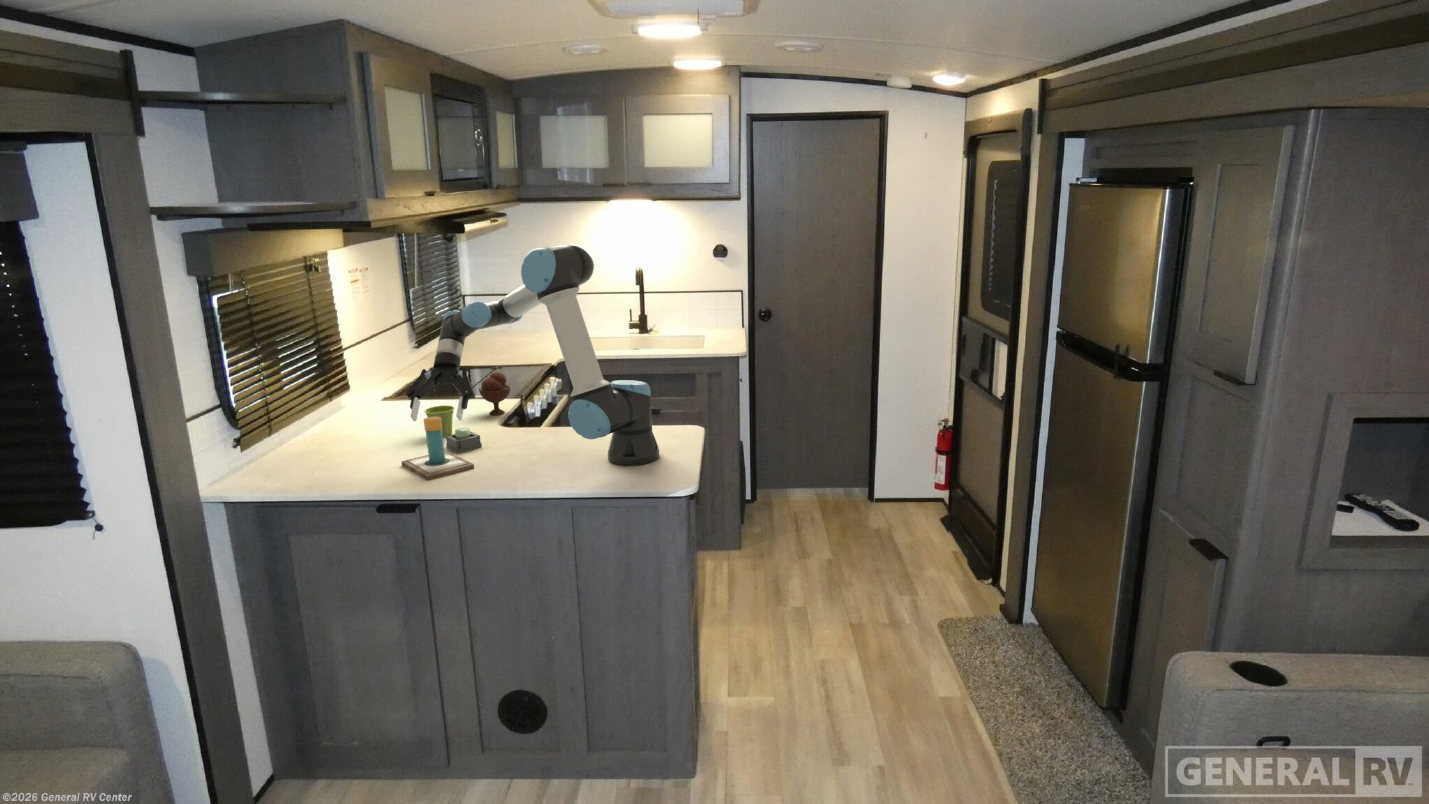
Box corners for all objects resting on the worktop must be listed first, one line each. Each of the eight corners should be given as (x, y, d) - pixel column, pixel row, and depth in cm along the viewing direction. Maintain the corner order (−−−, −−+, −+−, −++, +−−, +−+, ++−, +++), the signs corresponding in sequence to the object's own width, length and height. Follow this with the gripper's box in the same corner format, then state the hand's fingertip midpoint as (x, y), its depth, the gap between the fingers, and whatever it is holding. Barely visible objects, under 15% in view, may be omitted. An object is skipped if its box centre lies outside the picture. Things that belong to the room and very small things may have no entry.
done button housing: (481, 446, 265) (480, 435, 264) (457, 452, 260) (456, 441, 259) (470, 441, 271) (469, 430, 270) (446, 447, 266) (445, 436, 265)
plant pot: (426, 440, 274) (423, 414, 272) (428, 432, 283) (425, 406, 280) (456, 437, 276) (454, 411, 274) (457, 429, 285) (454, 404, 283)
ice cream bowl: (496, 408, 310) (492, 367, 306) (519, 411, 304) (515, 370, 300) (474, 415, 301) (470, 374, 297) (497, 419, 295) (493, 377, 292)
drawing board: (474, 468, 246) (473, 463, 246) (427, 480, 237) (426, 475, 237) (447, 454, 259) (446, 449, 259) (401, 465, 250) (401, 460, 250)
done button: (473, 438, 265) (472, 429, 264) (459, 442, 262) (458, 432, 261) (466, 436, 268) (465, 426, 267) (453, 439, 265) (452, 429, 265)
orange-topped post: (448, 461, 247) (443, 418, 244) (433, 465, 244) (427, 422, 241) (441, 458, 251) (436, 415, 248) (426, 461, 248) (420, 419, 245)
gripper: (492, 363, 262) (481, 423, 251) (412, 364, 263) (399, 425, 253) (485, 349, 255) (474, 411, 245) (403, 351, 257) (389, 412, 246)
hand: (436, 418), depth 249 cm, fingers open, 13 cm apart
